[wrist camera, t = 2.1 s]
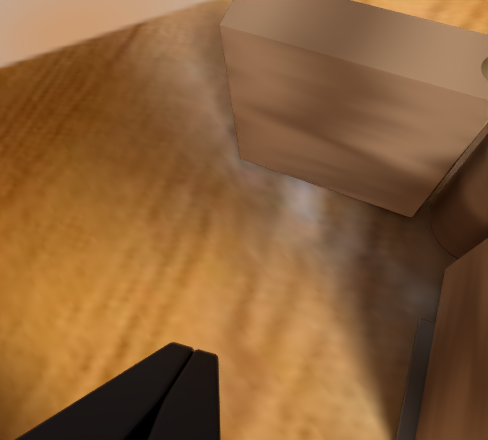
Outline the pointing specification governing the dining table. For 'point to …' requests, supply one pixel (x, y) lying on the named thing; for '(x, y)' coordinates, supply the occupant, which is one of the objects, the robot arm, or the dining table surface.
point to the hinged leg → (354, 95)
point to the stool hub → (454, 319)
